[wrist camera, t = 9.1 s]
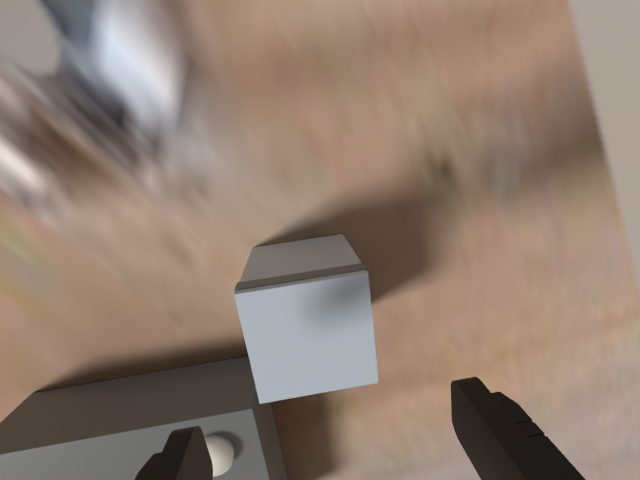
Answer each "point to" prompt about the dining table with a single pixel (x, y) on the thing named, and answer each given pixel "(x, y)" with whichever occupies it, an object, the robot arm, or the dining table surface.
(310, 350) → the cap
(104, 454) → the box
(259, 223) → the dining table surface
